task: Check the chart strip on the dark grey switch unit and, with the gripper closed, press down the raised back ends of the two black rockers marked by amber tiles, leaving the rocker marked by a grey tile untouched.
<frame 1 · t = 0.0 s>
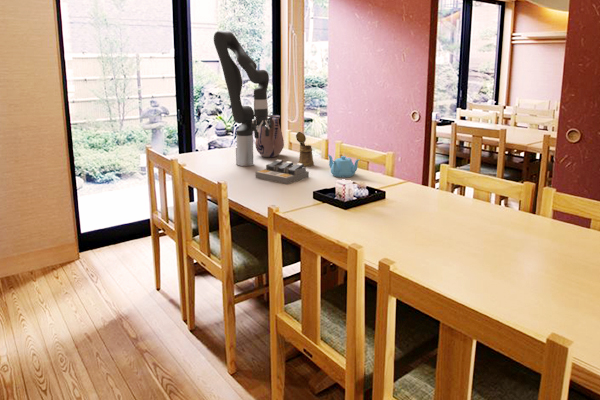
hand: (262, 137, 284), 17 cm above the table, tool pointing down, fingers open, 8 cm apart
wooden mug: (304, 164, 298), on the table
teapot: (341, 175, 272), on the table
rocker 2: (285, 166, 269), point 6 cm above the table, hinge at 15.0°
switch unit: (282, 177, 268), on the table
rocker 3: (296, 167, 265), point 6 cm above the table, hinge at 15.0°
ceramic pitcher: (271, 156, 318), on the table
rocker 1: (275, 164, 273), point 6 cm above the table, hinge at 15.0°
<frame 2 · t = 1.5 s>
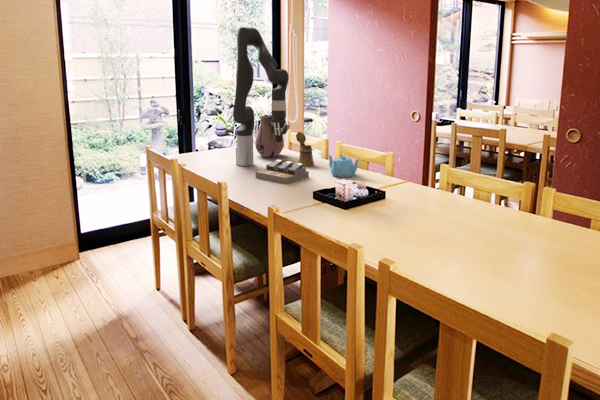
hand: (279, 142, 272), 17 cm above the table, tool pointing down, fingers closed
nothing on the table moved.
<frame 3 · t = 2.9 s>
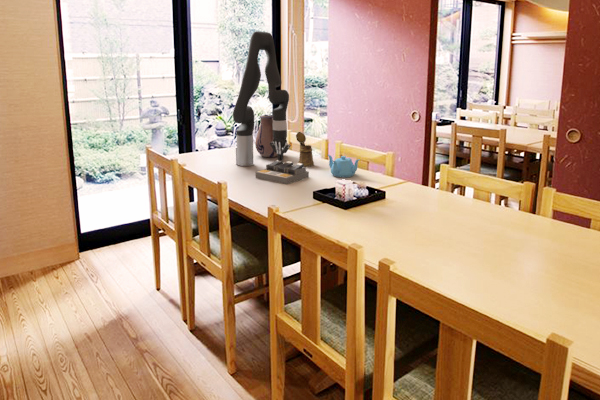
hand: (280, 160, 275), 7 cm above the table, tool pointing down, fingers closed
rocker 1: (275, 164, 273), point 6 cm above the table, hinge at 9.3°, touching gripper
everything else where it was.
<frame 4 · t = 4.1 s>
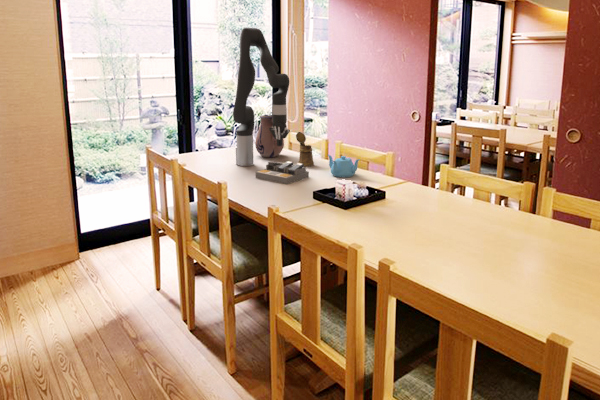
hand: (279, 146, 272), 15 cm above the table, tool pointing down, fingers closed
rocker 1: (275, 164, 273), point 6 cm above the table, hinge at -12.1°
everything else where it was.
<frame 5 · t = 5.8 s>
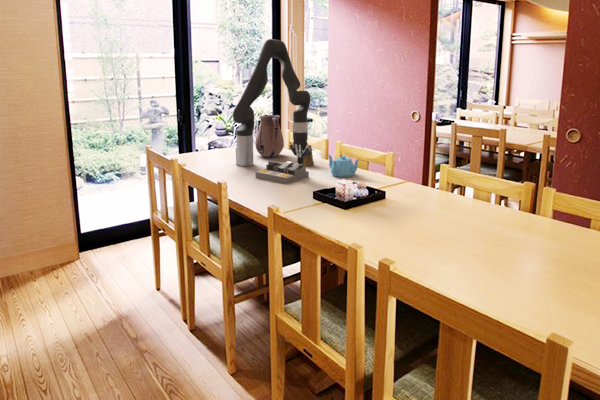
hand: (300, 163, 267), 7 cm above the table, tool pointing down, fingers closed
rocker 3: (296, 167, 265), point 6 cm above the table, hinge at 14.1°, touching gripper
rocker 1: (275, 164, 273), point 6 cm above the table, hinge at -17.4°
everything else where it was.
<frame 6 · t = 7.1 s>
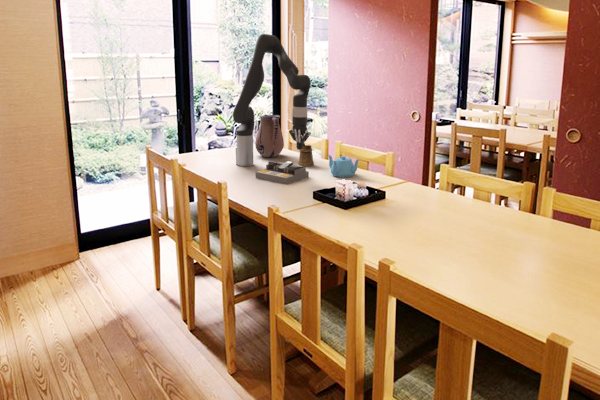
hand: (299, 149, 264), 15 cm above the table, tool pointing down, fingers closed
rocker 3: (296, 167, 265), point 6 cm above the table, hinge at -7.3°
rocker 1: (275, 164, 273), point 6 cm above the table, hinge at -18.1°
everything else where it was.
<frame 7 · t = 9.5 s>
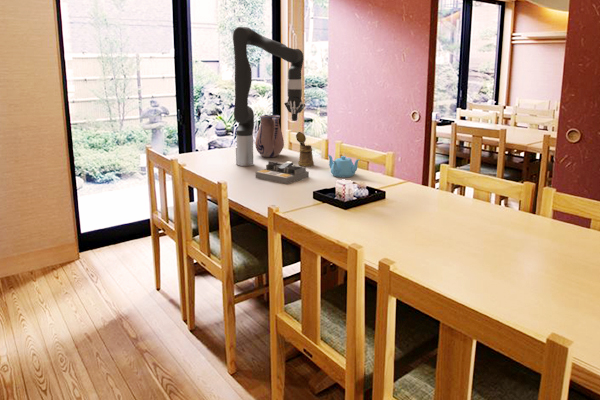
hand: (294, 120, 277), 27 cm above the table, tool pointing down, fingers closed
rocker 3: (296, 167, 265), point 6 cm above the table, hinge at -13.2°
everything else where it was.
at the end: rocker 1 at -18° (first picture: +15°); rocker 3 at -13° (first picture: +15°); rocker 2 at +15° (first picture: +15°) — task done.
